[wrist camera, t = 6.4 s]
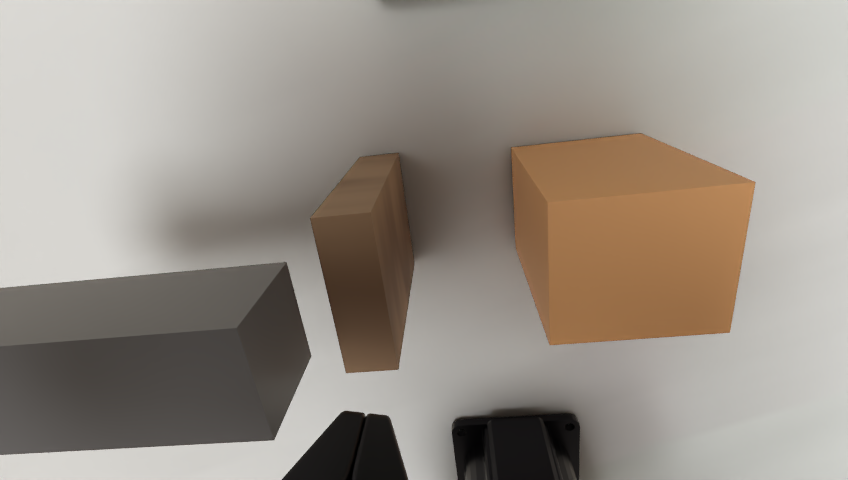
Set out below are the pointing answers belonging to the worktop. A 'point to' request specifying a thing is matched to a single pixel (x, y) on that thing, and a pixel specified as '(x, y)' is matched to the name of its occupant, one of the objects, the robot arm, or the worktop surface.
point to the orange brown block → (628, 238)
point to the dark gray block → (149, 360)
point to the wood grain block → (367, 262)
